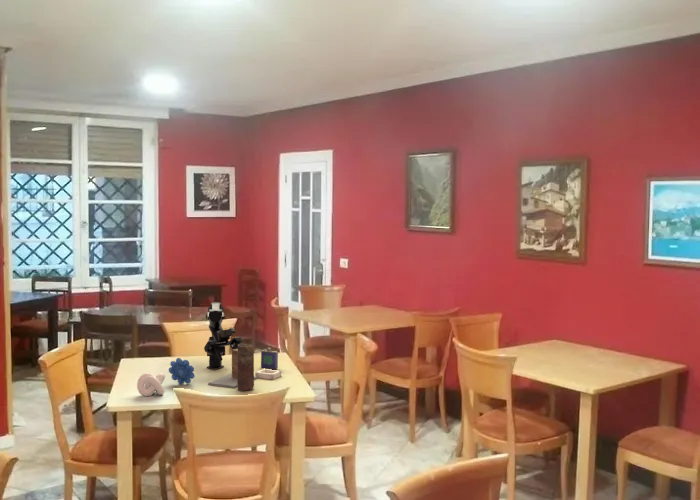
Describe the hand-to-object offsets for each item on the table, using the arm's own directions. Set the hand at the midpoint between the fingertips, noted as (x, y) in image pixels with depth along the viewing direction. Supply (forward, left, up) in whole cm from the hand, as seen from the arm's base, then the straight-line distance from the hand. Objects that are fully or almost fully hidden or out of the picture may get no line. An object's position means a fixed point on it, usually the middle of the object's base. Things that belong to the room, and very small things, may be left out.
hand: (230, 358), depth 331 cm
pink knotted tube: (+41, -12, -9) cm, 43 cm away
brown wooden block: (+3, +7, -7) cm, 11 cm away
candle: (+17, +19, -9) cm, 26 cm away
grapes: (+23, -11, -9) cm, 27 cm away
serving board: (+8, +7, -8) cm, 13 cm away
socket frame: (-7, +17, -8) cm, 20 cm away
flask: (-22, +9, -9) cm, 25 cm away
